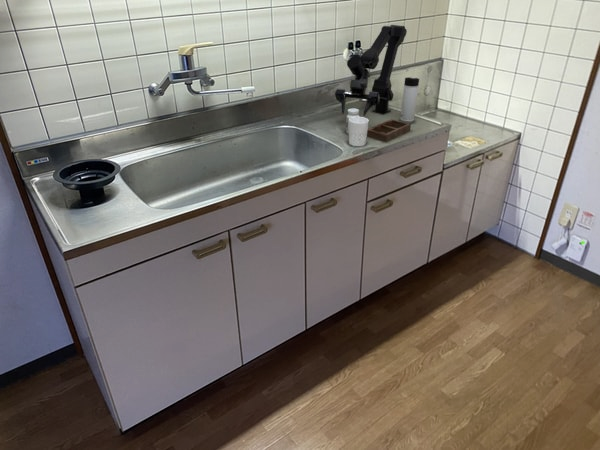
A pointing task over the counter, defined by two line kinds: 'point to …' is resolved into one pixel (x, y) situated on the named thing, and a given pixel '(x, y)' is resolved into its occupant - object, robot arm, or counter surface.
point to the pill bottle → (351, 113)
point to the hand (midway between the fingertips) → (353, 114)
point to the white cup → (358, 131)
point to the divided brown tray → (388, 130)
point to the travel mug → (409, 100)
